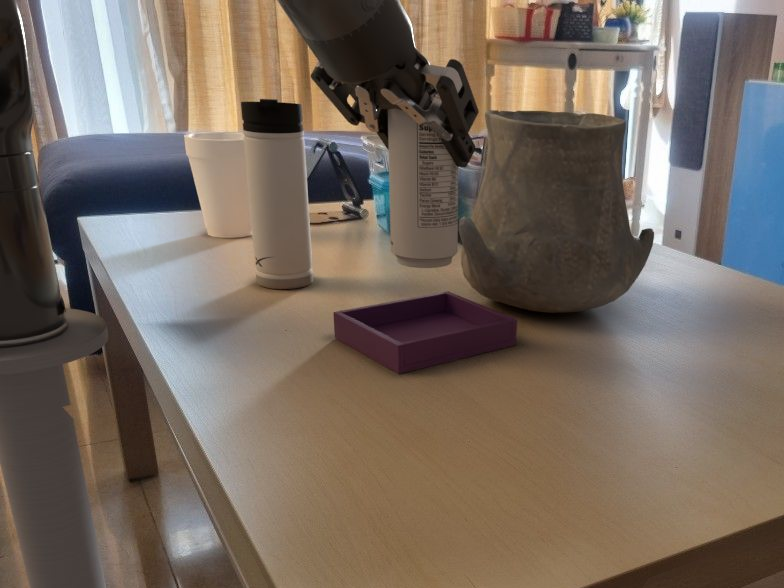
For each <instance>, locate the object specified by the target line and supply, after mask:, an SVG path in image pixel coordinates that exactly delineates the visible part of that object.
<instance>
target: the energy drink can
mask: <svg viewBox="0 0 784 588" xmlns="http://www.w3.org/2000/svg"><path fill="white" fill-rule="evenodd" d="M428 96H429V95H428V92H427V90H426V92H425V95H424V96H423V98H422V100H421V102H420V104H419V105H418V106H419V107H420V108H421V109H423V107H424V105H425V103H426V101H427V99H428ZM436 114H437V117H438V118H439V119H440V120H441V121H442V122H444V120H445V118H446V116H447V115H446V114H445V113H443V112H442V111H441V110H440V109H438V111H437V113H436ZM441 139H442V138H441V137H440V136H439V135H438V134H437V133H436V132H434V131H433V130H432V129H431V128H430V127H429V126H428V125H426V124H425V125H419V124H418V123H417V122H416V121H414V120H413V119H412V118H411V117H410V116H409V115H408V114H407V113H406V112H404V111H403V110H399V109H396V108H394V109H388V145H389V150H388V183H389V186H388V187H389V227H390V228H389V229H390V231H389V232H390V252H391V253H392V254H393V255H394V256H395V257H396V261H397V263H398V264H400V265H401V266H405V267H408V268H414V269H415V268H416V269H437V268H442V267H447V266H450V265H451V264H452V261H453V260H452V259H453V257H455V256H456V255H457V254H458V248H459V247H458V246H459V243H458V242H459V241H458V240H459V167H458V166H456V164H455V162H454V160H453V159H452V157H451V156H450V154H449V152H448V151H447V149H446V147H445V146H444V144H443V142H442V140H441Z"/></svg>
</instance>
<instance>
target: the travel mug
mask: <svg viewBox="0 0 784 588" xmlns="http://www.w3.org/2000/svg"><path fill="white" fill-rule="evenodd" d="M240 108H241V109H240V110H241V120H242V121H243V123H242V133H243V134H244V135H245V136H244V138H243V139H244V150H245V161H246V172H247V183H248V194H249V205H250V216H251V227H252V235H251V237H252V247H253V257H254V258H253V259H254V267H255V280H256V283H257V284H258V285H259V286H261V287H263V288H266V289H272V290H293V289H299V288H304V287H307V286H309V285H310V284H312V283H313V281H314V270H313V254H312V239H311V238H312V237H311V225H310V224H311V223H310V207H309V206H310V205H309V190H308V189H309V187H308V176H307V175H308V174H307V172H308V171H307V158H306V156H307V155H306V142H305V138H304V136H305V130H304V124H303V121H304V120H303V119H304V118H303V104H302V103H295V102H282V101H278V98H277V99H275V98H260V99H259V101H240Z"/></svg>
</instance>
